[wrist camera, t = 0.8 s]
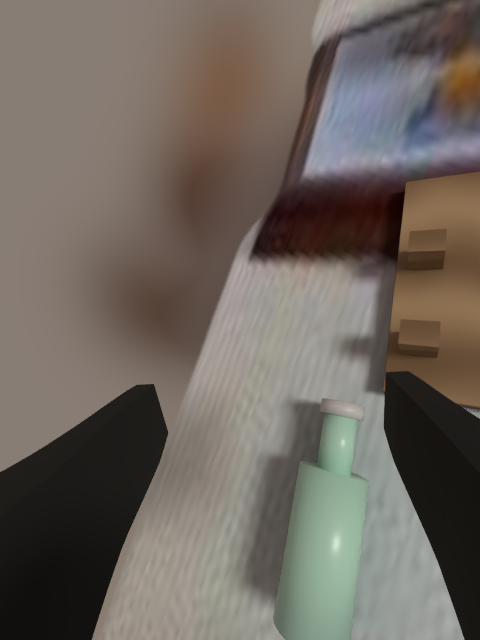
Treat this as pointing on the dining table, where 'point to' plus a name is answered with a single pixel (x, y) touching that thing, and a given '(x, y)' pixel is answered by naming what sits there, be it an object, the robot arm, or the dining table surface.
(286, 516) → the dining table surface
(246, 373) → the dining table surface
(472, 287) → the bottle cradle
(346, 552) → the bottle
